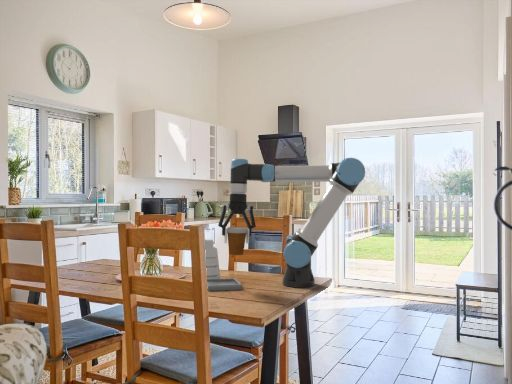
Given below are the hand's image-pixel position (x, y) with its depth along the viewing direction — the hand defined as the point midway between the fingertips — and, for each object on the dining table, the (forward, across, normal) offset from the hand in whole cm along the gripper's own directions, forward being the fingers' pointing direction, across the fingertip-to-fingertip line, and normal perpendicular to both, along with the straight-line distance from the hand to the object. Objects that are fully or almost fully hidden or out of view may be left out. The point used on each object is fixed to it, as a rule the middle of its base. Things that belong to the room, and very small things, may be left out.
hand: (236, 243), depth 198 cm
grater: (+21, +9, -22) cm, 32 cm away
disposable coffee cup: (+5, 0, 0) cm, 5 cm away
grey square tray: (+20, +5, -4) cm, 21 cm away
